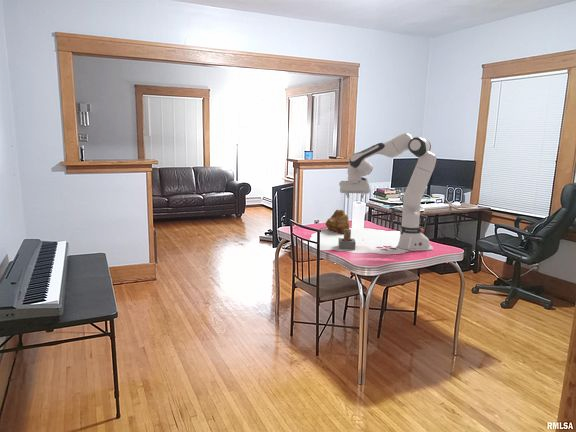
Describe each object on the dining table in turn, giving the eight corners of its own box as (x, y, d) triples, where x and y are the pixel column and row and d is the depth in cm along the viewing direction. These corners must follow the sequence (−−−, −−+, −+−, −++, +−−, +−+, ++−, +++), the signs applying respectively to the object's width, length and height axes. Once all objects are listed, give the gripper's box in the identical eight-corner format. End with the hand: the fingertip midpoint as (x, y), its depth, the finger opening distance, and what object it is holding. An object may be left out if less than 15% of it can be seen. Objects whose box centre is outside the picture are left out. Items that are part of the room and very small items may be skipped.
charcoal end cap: (353, 246, 280) (354, 238, 279) (355, 249, 271) (355, 242, 270) (338, 245, 280) (338, 238, 279) (339, 249, 271) (339, 241, 270)
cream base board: (368, 248, 280) (369, 246, 280) (371, 253, 270) (371, 250, 269) (338, 247, 281) (338, 245, 281) (339, 252, 270) (339, 249, 270)
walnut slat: (349, 247, 277) (350, 229, 274) (350, 248, 274) (350, 230, 271) (343, 246, 277) (344, 228, 275) (343, 248, 274) (344, 229, 272)
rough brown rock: (323, 228, 341) (322, 209, 337) (343, 226, 342) (343, 208, 339) (329, 236, 318) (328, 216, 315) (351, 234, 320) (350, 214, 316)
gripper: (339, 178, 294) (339, 194, 286) (369, 178, 293) (370, 195, 285) (338, 183, 299) (339, 199, 291) (368, 184, 298) (369, 200, 290)
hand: (355, 197), depth 288 cm, fingers open, 8 cm apart
